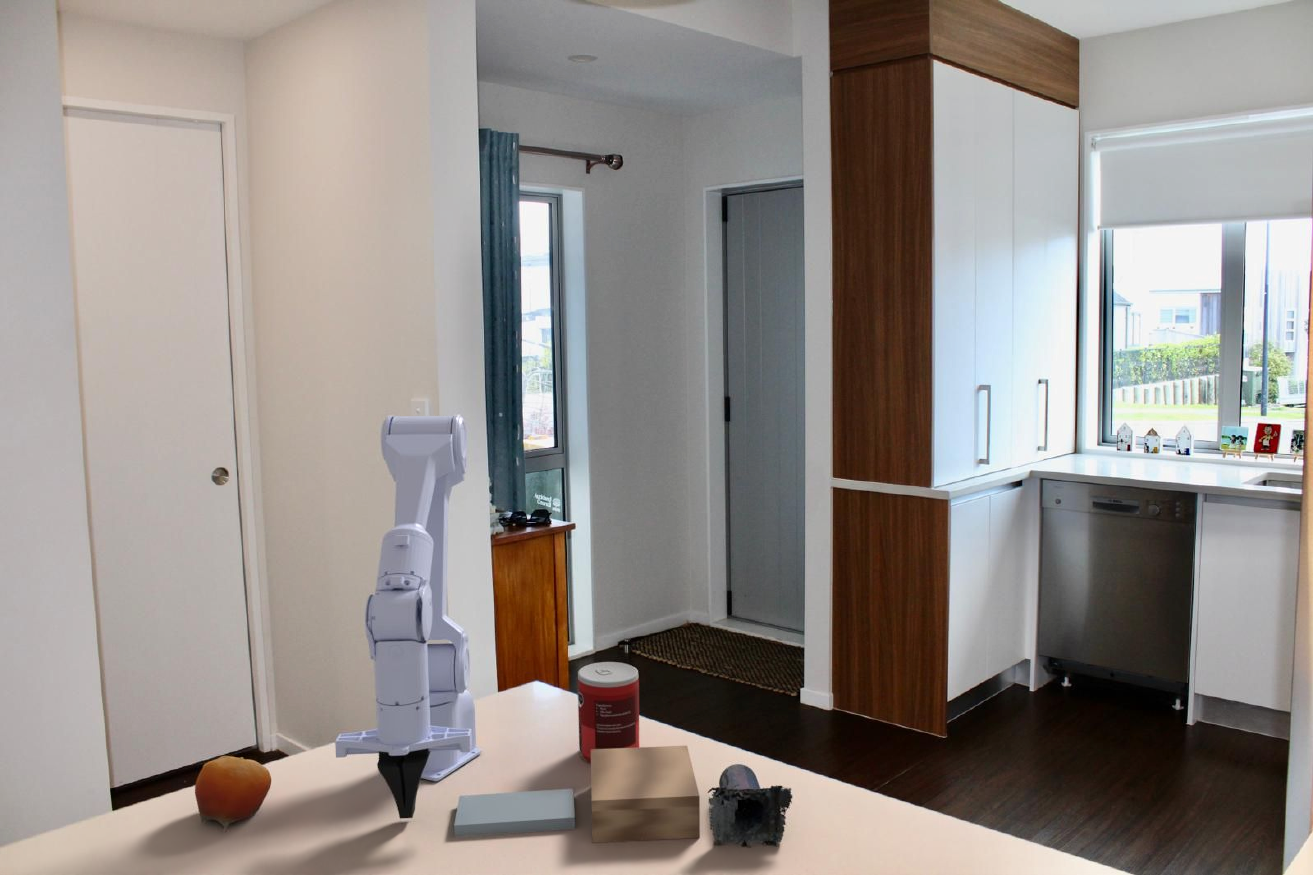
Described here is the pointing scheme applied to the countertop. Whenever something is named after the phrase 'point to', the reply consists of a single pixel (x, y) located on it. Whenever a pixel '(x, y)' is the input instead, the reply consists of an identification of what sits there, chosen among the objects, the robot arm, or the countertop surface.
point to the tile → (515, 812)
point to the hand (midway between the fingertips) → (407, 814)
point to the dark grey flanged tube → (747, 809)
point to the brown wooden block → (643, 794)
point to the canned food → (608, 707)
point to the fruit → (231, 789)
